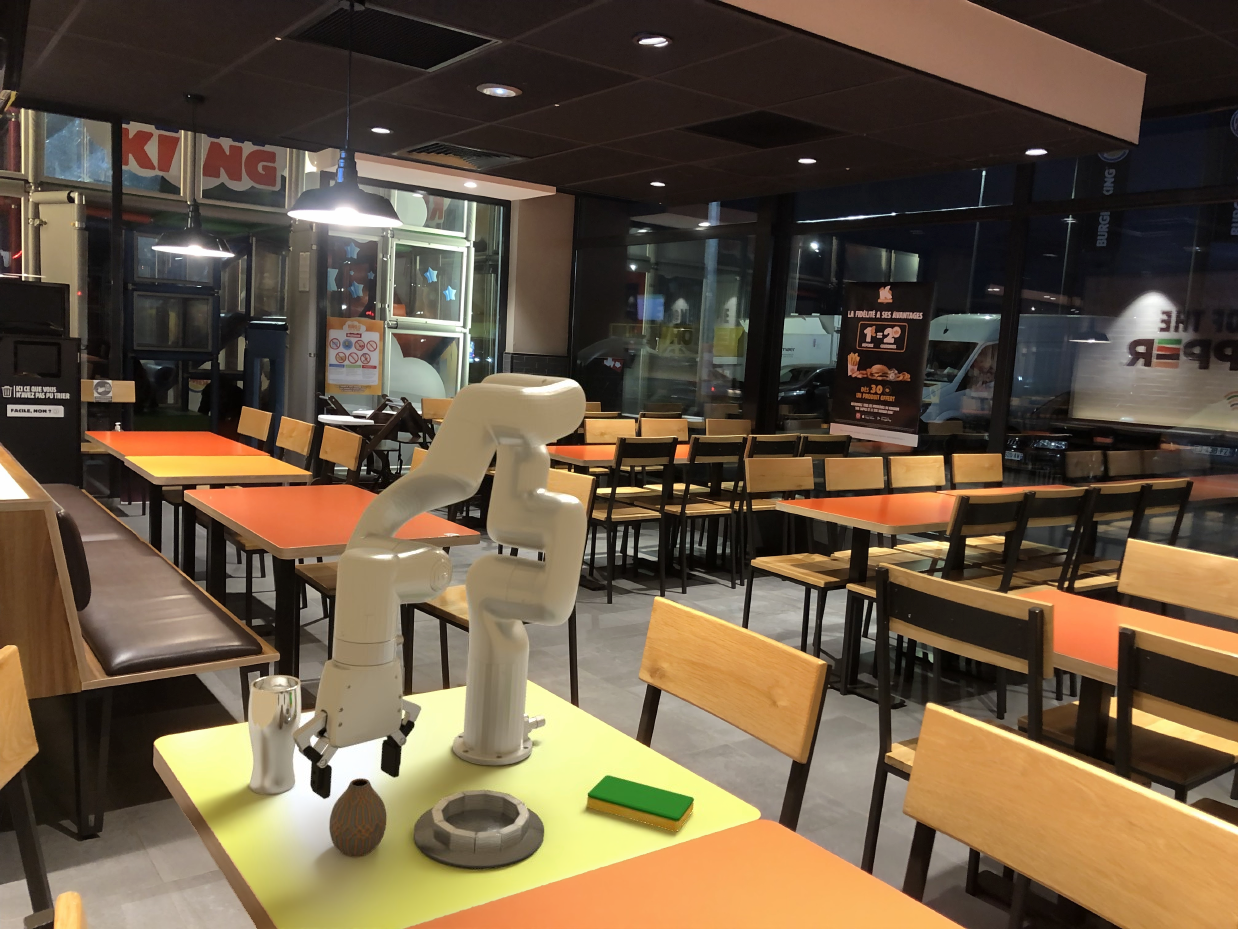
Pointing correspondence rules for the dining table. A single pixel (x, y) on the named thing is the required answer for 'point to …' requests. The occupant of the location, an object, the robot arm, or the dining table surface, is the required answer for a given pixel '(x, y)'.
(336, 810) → the vase
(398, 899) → the dining table surface
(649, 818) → the dish sponge
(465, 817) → the ring seat
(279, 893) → the dining table surface
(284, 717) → the beer glass
